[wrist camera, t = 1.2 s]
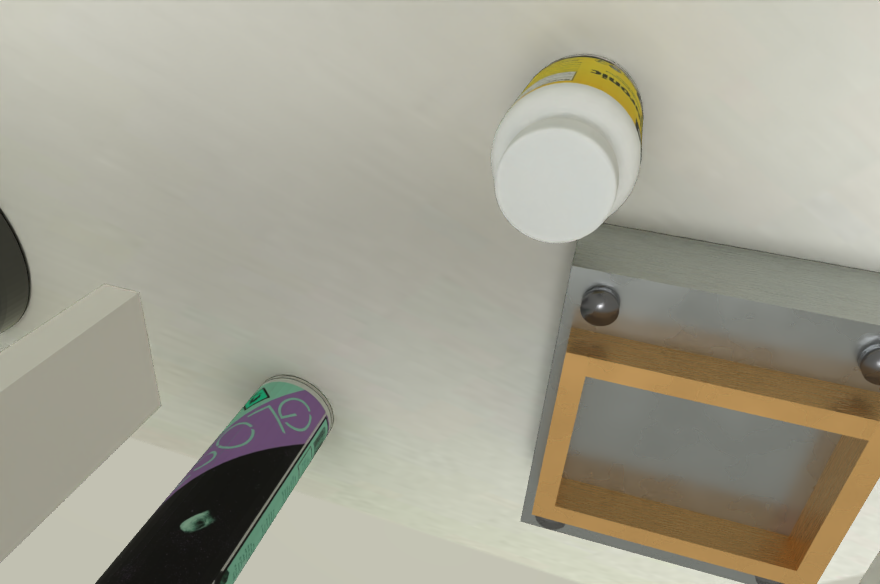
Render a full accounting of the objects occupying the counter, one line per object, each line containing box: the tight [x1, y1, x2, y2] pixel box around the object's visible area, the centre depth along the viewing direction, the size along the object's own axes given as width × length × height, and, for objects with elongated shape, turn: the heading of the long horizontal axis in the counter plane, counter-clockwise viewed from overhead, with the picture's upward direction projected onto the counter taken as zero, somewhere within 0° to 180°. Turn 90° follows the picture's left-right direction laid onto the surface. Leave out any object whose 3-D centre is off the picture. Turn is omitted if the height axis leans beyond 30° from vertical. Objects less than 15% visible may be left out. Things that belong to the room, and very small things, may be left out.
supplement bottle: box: [491, 54, 643, 243], centre depth 25 cm, size 5×5×10 cm
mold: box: [521, 223, 880, 584], centre depth 32 cm, size 14×16×7 cm
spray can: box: [95, 375, 333, 584], centre depth 35 cm, size 6×6×20 cm
